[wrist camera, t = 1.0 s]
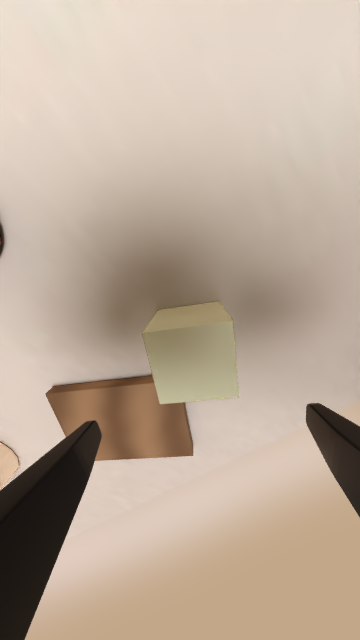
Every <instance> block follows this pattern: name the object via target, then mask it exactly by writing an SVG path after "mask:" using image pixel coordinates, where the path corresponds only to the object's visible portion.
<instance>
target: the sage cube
mask: <svg viewBox="0 0 360 640" xmlns="http://www.w3.org/2000/svg"><path fill="white" fill-rule="evenodd" d="M142 335H143V339H144V343H145V347H146V351H147V355H148V359H149V363H150V367H151V371H152V375H153V379H154V383H155V387H156V391H157V395H158V399H159V403H160V404H170V403H181V402H193V401H205V400H216V399H228V398H239V388H238V376H237V364H236V351H235V339H234V327H233V320H232V319H231V317H230V316H229V314H228V313H227V311H226V310H225V308H224V307H223V305H222V304H221V302H220V301H216V302H209V303H203V304H196V305H189V306H182V307H176V308H169V309H162V310H158V311H157V312H156V314H155V315H154V317H153V318H152V319H151V321H150V322H149V324H148V325H147V327H146V328H145V329H144V331H143V332H142Z"/></svg>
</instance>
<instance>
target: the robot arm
mask: <svg viewBox="0 0 360 640" xmlns="http://www.w3.org/2000/svg"><path fill="white" fill-rule="evenodd" d="M306 423H307V426H308V428H309V430H310V432H311V434H312V435H313V438H314V439H315V441H316V443H317V445H318V447H319V449H320V451H321V453H322V455H323V457H324V459H325V461H326V463H327V465H328V466H329V468H330V470H331V472H332V473H333V475H334V477H335V478H336V480H337V482H338V483H339V485H340V487H341V488H342V490H343V491H344V493H345V495H346V496H347V498H348V499H349V501H350V502H351V504H352V506H353V507H354V509H355V510H356V512H357V514H358V515H359V517H360V426H358V425H356V424H354V423H353V422H351V421H349V420H348V419H346V418H344V417H342V416H341V415H339V414H337V413H336V412H334V411H332V410H330V409H329V408H327V407H325V406H323V405H322V404H319V403H311V404H307V407H306ZM101 439H102V433H101V430H100V428H99V425H98V423H97V421H96V420H90V421H86V422H85V423H83V424H82V425H81V426H80V427H78V428H77V429H76V430H75V431H73V432H72V433H71V434H70V435H68V436H67V437H66V438H65V439H64V440H62V441H61V442H60V443H59V444H57V445H56V446H55V447H54V448H52V449H51V450H50V451H49V452H47V453H46V454H45V455H44V456H42V457H41V458H40V459H39V460H38V461H36V462H35V463H34V464H33V465H31V466H30V467H29V468H28V469H26V470H25V471H24V472H23V473H21V474H20V475H19V476H18V477H16V478H15V479H14V480H13V481H12V482H10V483H9V484H8V485H7V486H5V487H4V488H3V489H2V490H0V640H24V639H25V637H26V634H27V632H28V629H29V627H30V624H31V622H32V619H33V617H34V615H35V612H36V610H37V607H38V605H39V602H40V600H41V597H42V595H43V592H44V589H45V587H46V585H47V582H48V580H49V577H50V575H51V572H52V570H53V567H54V565H55V562H56V560H57V557H58V555H59V552H60V550H61V547H62V545H63V542H64V540H65V537H66V535H67V532H68V530H69V527H70V525H71V523H72V520H73V518H74V515H75V513H76V510H77V508H78V505H79V503H80V500H81V498H82V495H83V493H84V490H85V488H86V485H87V482H88V480H89V477H90V474H91V471H92V468H93V465H94V461H95V458H96V455H97V452H98V449H99V445H100V442H101Z"/></svg>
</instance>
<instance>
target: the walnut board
mask: <svg viewBox="0 0 360 640" xmlns="http://www.w3.org/2000/svg"><path fill="white" fill-rule="evenodd" d="M46 397H47V399H48V401H49V403H50V405H51V407H52V409H53V411H54V413H55V415H56V417H57V419H58V421H59V424H60V426H61V428H62V430H63V432H64V434H65V436H66V437H67V436H68V435H70V434H71V433H72V432H73V431H75V430H76V429H77V428H78V427H80V426H81V425H82V424H83V423H85V422H86V421H90V420H96V421H97V423H98V425H99V428H100V430H101V433H102V439H101V442H100V445H99V449H98V452H97V455H96V458H95V461H100V460H119V459H139V458H159V457H178V456H193V442H192V437H191V432H190V427H189V422H188V417H187V412H186V407H185V402H181V403H170V404H160V403H159V399H158V395H157V391H156V387H155V383H154V379H153V376H146V377H137V378H127V379H118V380H108V381H99V382H89V383H80V384H70V385H61V386H54V387H52V388H51V389H50V390H49V391H48V392H47V393H46Z"/></svg>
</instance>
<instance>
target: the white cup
mask: <svg viewBox="0 0 360 640" xmlns="http://www.w3.org/2000/svg"><path fill="white" fill-rule="evenodd" d="M18 466H19V463H18V458H17V456H16V455H15V454H14V452H13V451H12V450H11V449H10V448H8V447H7V446H5V445H4V444H2V443H0V490H1V489H2V488H3V487H4V485H5V484H6V483H7V482H8V480H9V479H10V478H11V477H12V475H13V474H14V473H15V471H16V470H17V468H18Z"/></svg>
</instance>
